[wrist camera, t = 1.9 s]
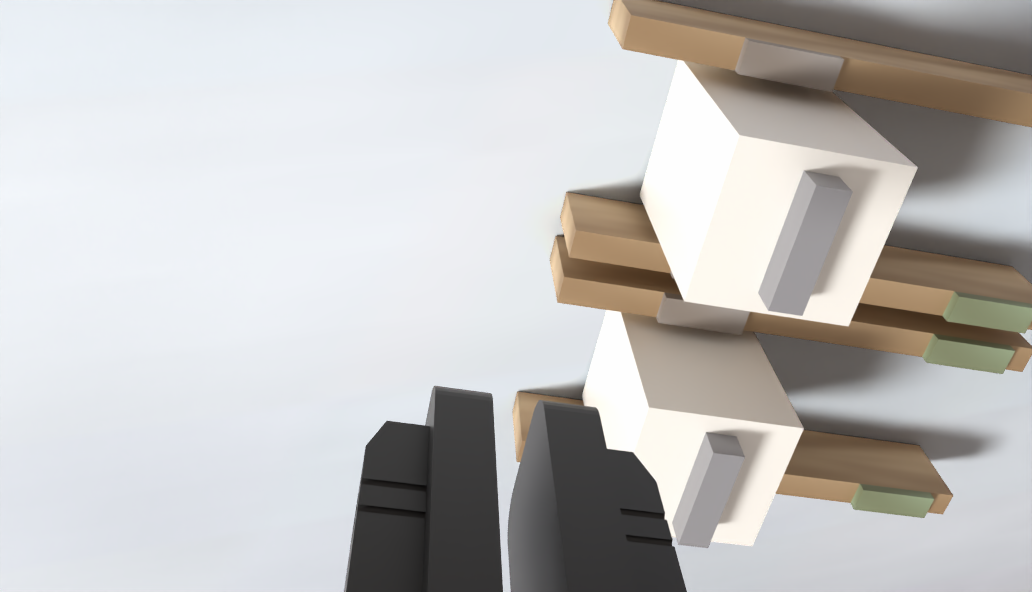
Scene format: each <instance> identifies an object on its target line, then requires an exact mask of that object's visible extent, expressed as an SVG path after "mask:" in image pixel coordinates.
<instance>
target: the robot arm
mask: <svg viewBox="0 0 1032 592" xmlns="http://www.w3.org/2000/svg"><path fill="white" fill-rule="evenodd" d="M508 554H509V570H510V586H511V592H687V591H686V587H685V584H684V580H683V576H682V573H681V569H680V566H679V562H678V558H677V555H676V551H675V547H673V546H672V536H671V533H670V529H669V526H668V522H667V520H665V511H664V507H663V504H662V500H661V496H660V493H659V489H658V485H657V482H656V480H655V479H654V478H653V477H652V475H651V474H650V473H649V472H648V470H647V469H646V468H645V467H644V465H643V464H642V463H641V462H640V460H639V459H638V458H637V456H636V455H635V454H634V453H633V452H629V451H621V450H613V449H607V446H606V442H605V437H604V432H603V428H602V423H601V418H600V414H599V411H598V409H597V408H596V407H590V406H583V405H575V404H568V403H560V402H553V401H545V400H539V401H538V402H537V404H536V406H535V409H534V412H533V416H532V420H531V423H530V427H529V431H528V435H527V439H526V443H525V447H524V450H523V454H522V458H521V462H520V466H519V470H518V474H517V477H516V481H515V485H514V489H513V493H512V498H511V504H510V511H509V520H508ZM344 592H503V585H502V566H501V547H500V528H499V509H498V490H497V471H496V452H495V433H494V414H493V398H492V394H491V393H484V392H477V391H470V390H462V389H455V388H447V387H440V386H434V387H433V390H432V394H431V399H430V404H429V409H428V414H427V419H426V425H425V426H423V425H416V424H408V423H400V422H392V421H386V422H385V424H384V425H383V426H382V427H381V428H380V430H379V431H378V432H377V433H376V434H375V436H374V437H373V438H372V439H371V440H370V442H369V443H368V444H367V445H366V448H365V455H364V461H363V468H362V474H361V481H360V487H359V494H358V500H357V506H356V513H355V519H354V526H353V532H352V539H351V546H350V553H349V560H348V568H347V575H346V582H345V589H344Z"/></svg>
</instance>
